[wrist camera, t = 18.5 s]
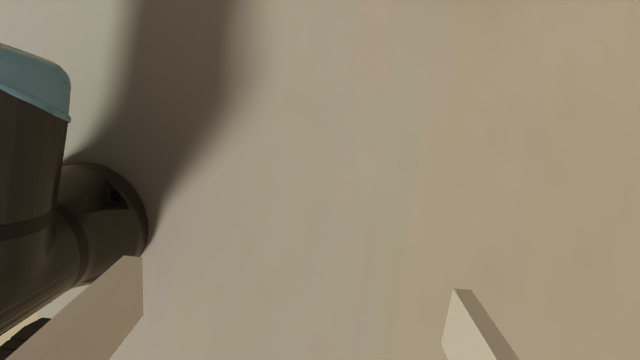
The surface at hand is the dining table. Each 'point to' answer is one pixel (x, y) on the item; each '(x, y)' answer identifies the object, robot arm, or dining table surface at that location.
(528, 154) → the dining table surface
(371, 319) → the dining table surface
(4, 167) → the robot arm
